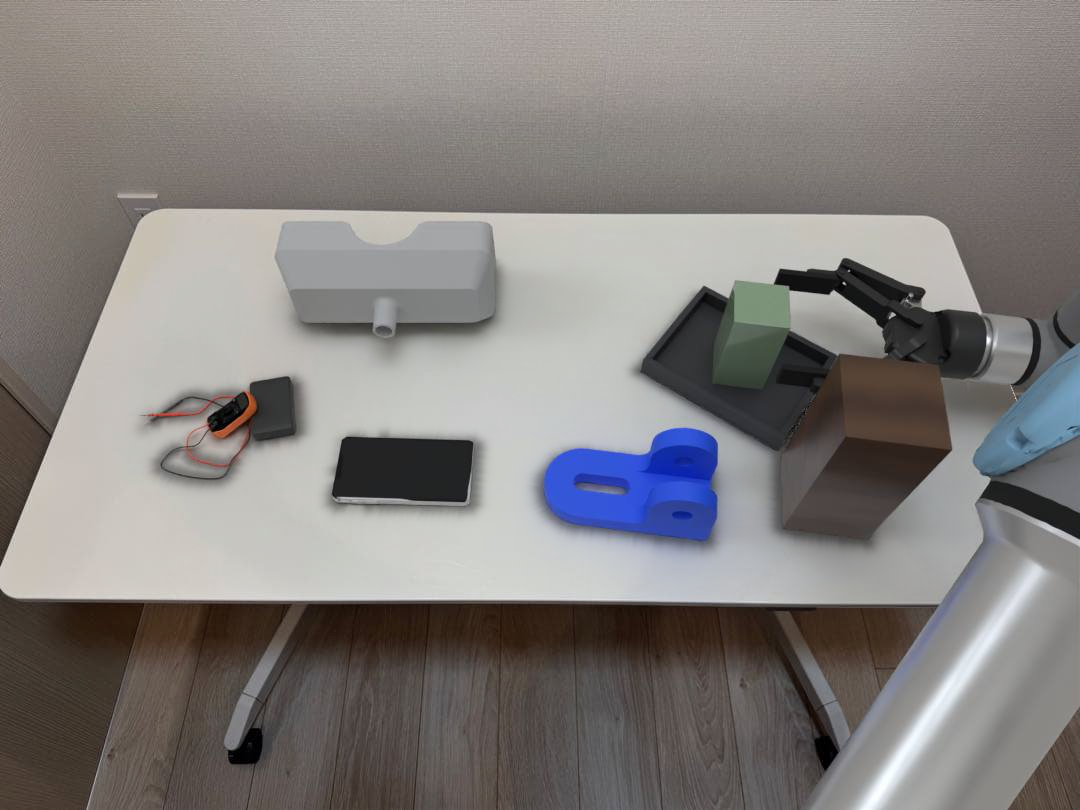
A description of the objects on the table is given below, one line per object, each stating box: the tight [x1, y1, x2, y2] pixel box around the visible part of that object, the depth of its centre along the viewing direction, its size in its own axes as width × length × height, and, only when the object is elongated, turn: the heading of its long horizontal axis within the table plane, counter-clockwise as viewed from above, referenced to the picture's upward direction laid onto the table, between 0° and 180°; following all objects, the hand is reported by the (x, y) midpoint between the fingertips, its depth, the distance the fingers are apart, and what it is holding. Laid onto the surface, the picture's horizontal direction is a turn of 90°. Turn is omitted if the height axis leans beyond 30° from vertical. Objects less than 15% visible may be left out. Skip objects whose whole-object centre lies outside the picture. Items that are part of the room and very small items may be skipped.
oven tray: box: [640, 285, 839, 451], centre depth 93 cm, size 15×19×3 cm
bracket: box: [543, 427, 719, 542], centre depth 81 cm, size 18×8×9 cm, turn 82°
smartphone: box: [331, 436, 475, 507], centre depth 86 cm, size 8×1×15 cm
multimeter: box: [139, 375, 296, 480], centre depth 87 cm, size 18×12×3 cm, turn 98°
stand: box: [780, 352, 953, 541], centre depth 77 cm, size 9×9×20 cm
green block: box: [712, 279, 792, 390], centre depth 89 cm, size 6×6×12 cm
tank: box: [274, 220, 497, 339], centre depth 93 cm, size 25×16×12 cm, turn 90°
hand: (777, 324), depth 86 cm, fingers open, 13 cm apart
